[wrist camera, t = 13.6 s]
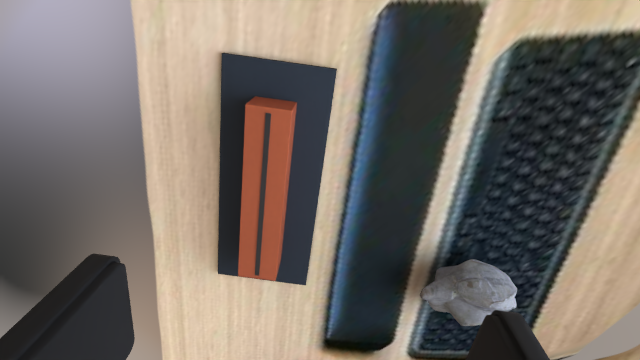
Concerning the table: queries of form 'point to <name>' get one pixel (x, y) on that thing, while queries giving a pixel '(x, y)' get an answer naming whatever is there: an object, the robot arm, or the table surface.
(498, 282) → the fossil
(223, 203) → the mat
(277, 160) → the pencil case
